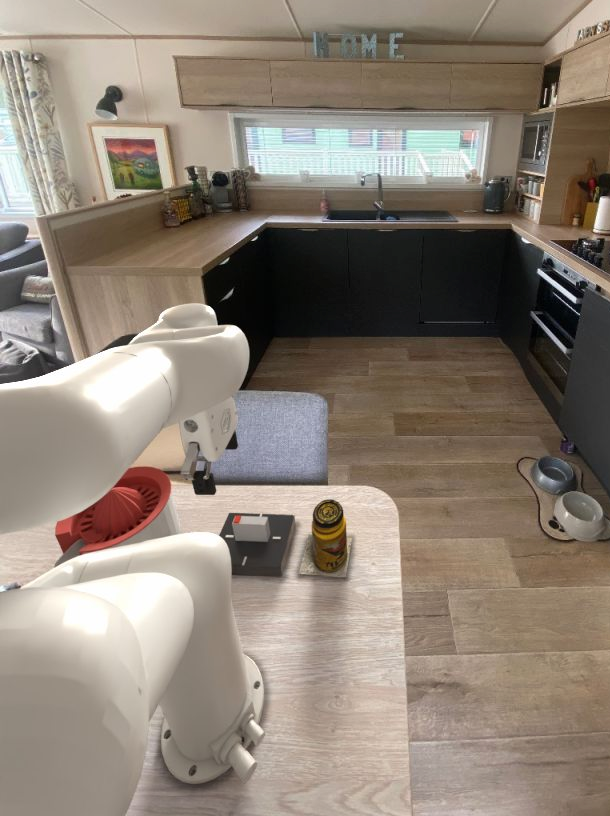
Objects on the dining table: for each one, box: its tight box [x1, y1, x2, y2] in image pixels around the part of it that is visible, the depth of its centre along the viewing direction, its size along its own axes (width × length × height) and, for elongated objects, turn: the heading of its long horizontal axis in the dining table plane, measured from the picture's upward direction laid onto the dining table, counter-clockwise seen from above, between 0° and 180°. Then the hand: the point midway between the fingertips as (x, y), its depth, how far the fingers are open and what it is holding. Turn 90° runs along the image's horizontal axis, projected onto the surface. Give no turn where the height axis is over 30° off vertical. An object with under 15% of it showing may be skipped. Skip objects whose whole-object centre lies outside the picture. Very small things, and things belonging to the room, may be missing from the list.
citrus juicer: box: [53, 465, 182, 568], centre depth 64 cm, size 16×17×20 cm
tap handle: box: [232, 516, 270, 542], centre depth 71 cm, size 6×2×5 cm, turn 88°
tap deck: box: [218, 512, 297, 578], centre depth 72 cm, size 13×10×3 cm
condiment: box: [298, 498, 353, 578], centre depth 69 cm, size 7×8×12 cm
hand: (218, 469), depth 65 cm, fingers open, 9 cm apart
